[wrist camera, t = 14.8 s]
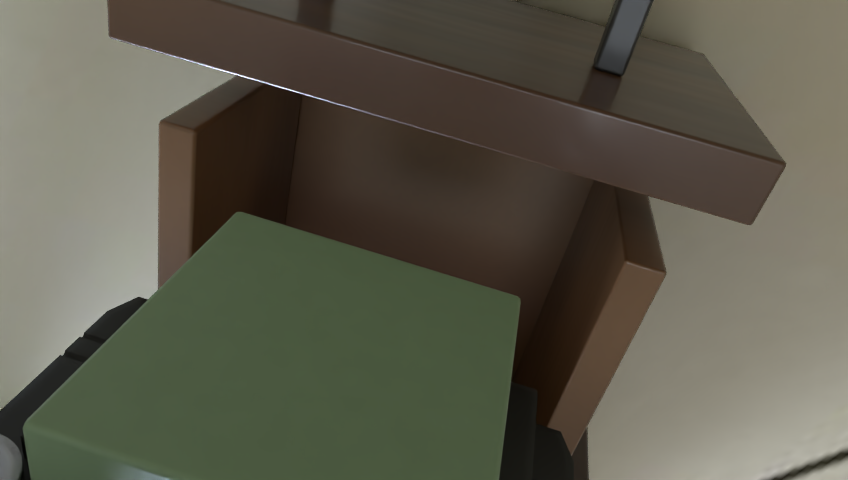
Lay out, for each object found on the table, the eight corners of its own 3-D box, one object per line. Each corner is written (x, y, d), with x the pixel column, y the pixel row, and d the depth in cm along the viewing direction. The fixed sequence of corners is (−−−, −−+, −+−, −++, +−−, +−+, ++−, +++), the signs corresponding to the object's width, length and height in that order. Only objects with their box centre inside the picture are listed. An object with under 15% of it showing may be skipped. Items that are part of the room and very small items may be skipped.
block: (237, 208, 10) (17, 424, 6) (522, 295, 10) (487, 581, 6) (221, 411, 12) (57, 661, 8) (449, 486, 12) (390, 780, 8)
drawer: (299, -298, 14) (89, -435, 8) (806, -168, 14) (1006, -209, 7) (241, 323, 24) (124, 480, 18) (538, 416, 23) (526, 615, 17)
